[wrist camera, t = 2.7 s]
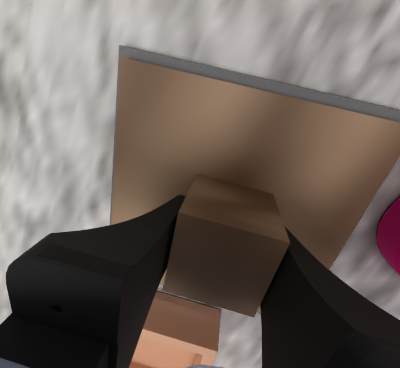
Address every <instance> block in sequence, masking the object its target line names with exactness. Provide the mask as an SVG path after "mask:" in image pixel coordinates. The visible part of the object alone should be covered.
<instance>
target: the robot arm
mask: <svg viewBox="0 0 400 368" xmlns="http://www.w3.org/2000/svg"><path fill="white" fill-rule="evenodd" d="M185 198H186V196H184V195H180V194H179V195H177V196H176V197H174V198H173V199H171V200H169V201H168V202H166V203H165V204H163V205H161V206H159V207H158V208H156V209H154V210H152V211H150V212H148V213H146V214H144V215H141V216H139V217H136V218H133V219H130V220H127V221H124V222H120V223H117V224H113V225H109V226H105V227H100V228H94V229H88V230H81V231H71V232H61V233H50V234H49V235H47V236H46V237H45V238H43V239H42V240H41V241H39V242H38V243H37V244H35V245H34V246H33V247H31V248H30V249H29V250H27V251H26V252H25V253H24V254H22V255H21V256H20V257H18V258H17V259H16V260H14V261H13V262H12V263H11V264H10V265H9V267H8V270H7V272H6V285H7V290H8V295H9V299H10V304H11V309H12V314H11V315H10V316H9V317H8V318H7V319H6V320H5V321H4V322H3V323H2V324H0V368H129V366H130V364H131V361H132V358H133V355H134V352H135V349H136V346H137V344H138V341H139V338H140V335H141V332H142V330H143V327H144V324H145V321H146V318H147V316H148V313H149V310H150V307H151V305H152V302H153V299H154V297H155V294H156V291H157V289H158V286H159V284H160V282H161V279H162V277H163V275H164V273H165V271H166V269H167V266H168V261H169V256H170V251H171V246H172V241H173V236H174V231H175V226H176V221H177V217H178V212H179V210H180V208H181V206H182V204H183V202H184V200H185ZM284 227H285V226H284ZM285 229H286V232H287V235H288V238H289V241H290V244H289V246H288V248H287V250H286V252H285V254H284V257H283V259H282V261H281V263H280V265H279V267H278V269H277V271H276V273H275V275H274V277H273V279H272V281H271V283H270V285H269V287H268V289H267V292H266V294H265V296H264V298H263V300H262V302H261V304H260V309H261V322H262V368H400V320H398V319H397V318H395V317H394V316H392V315H390V314H389V313H387V312H386V311H384V310H383V309H381V308H379V307H378V306H376V305H375V304H373V303H372V302H370V301H369V300H367V299H366V298H365V297H363V296H362V295H360V294H359V293H358V292H356V291H355V290H354V289H352V288H351V287H349V286H348V285H347V284H346V283H344V282H343V281H342V280H340V279H339V278H338V277H337V276H336V275H334V274H333V273H332V272H331V271H330V270H328V269H327V268H326V267H325V266H324V265H323V264H322V263H320V262H319V261H318V260H317V259H316V258H315V257H314V256H313V255H312V254H311V253H310V252H309V251H308V250H307V249H306V248H305V247H304V246H303V245H302V244H301V243H300V242H299V241H298V240H297V238H296V237H295V236H294V235H293V234H292V233H291V232H290V231H289V230H288V229H287V228H286V227H285ZM185 368H223V367H216V366H209V365H203V364H199V365H194V366H189V367H185Z"/></svg>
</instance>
